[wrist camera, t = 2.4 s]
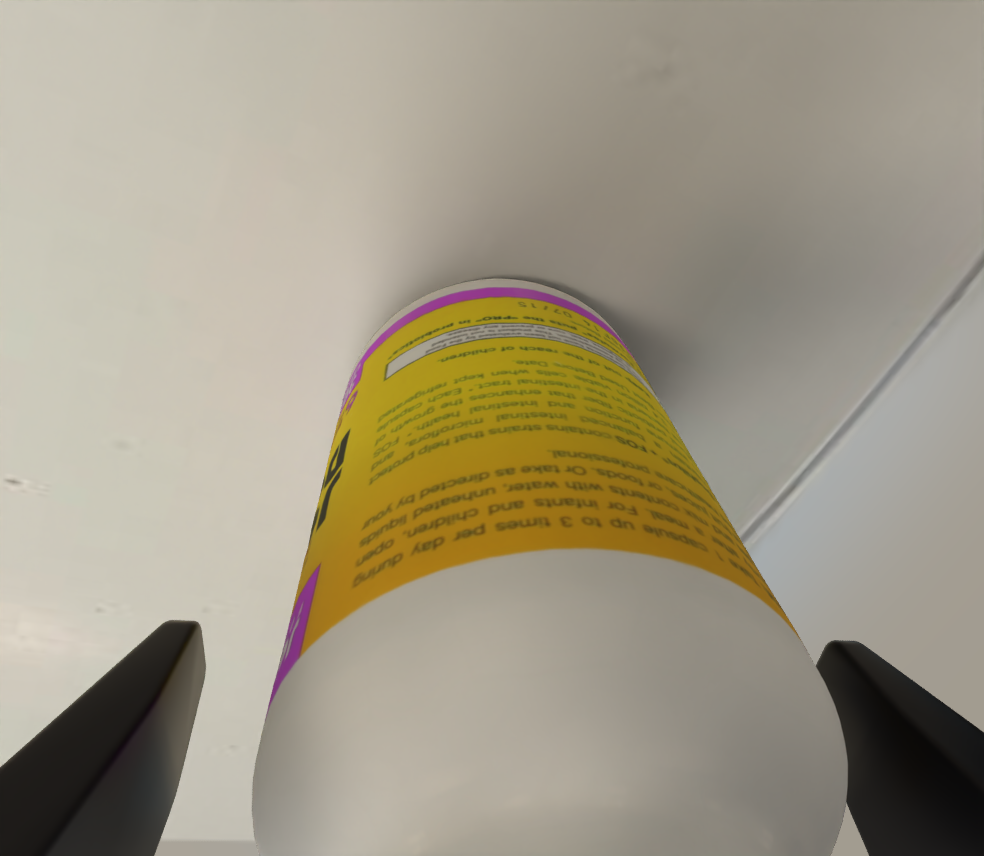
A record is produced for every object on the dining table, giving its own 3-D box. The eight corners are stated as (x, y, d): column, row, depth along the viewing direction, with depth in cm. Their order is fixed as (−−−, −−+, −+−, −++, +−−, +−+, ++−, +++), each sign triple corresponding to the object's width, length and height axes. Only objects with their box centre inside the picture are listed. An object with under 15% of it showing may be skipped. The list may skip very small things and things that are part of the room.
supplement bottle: (317, 285, 14) (-125, 1234, 3) (637, 253, 14) (1362, 1043, 3) (373, 539, 17) (263, 1431, 6) (632, 511, 18) (968, 1335, 6)
